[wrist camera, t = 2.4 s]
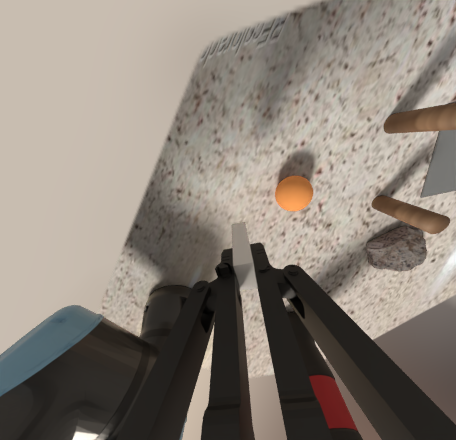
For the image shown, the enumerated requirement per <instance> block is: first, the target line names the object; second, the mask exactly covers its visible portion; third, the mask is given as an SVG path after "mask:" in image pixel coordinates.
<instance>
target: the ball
mask: <svg viewBox="0 0 456 440" xmlns="http://www.w3.org/2000/svg"><path fill="white" fill-rule="evenodd" d="M275 197H276V201H277V203H278V204H279V205H280V206H281V207H282V208H283V209H285V210H288V211H298V210H301V209H303V208H305V207H306V206H307V205H308V204H309V203H310V201H311V199H312V197H313V188H312V186H311V184H310V182H309V181H308V180H307V179H305V178H303V177H301V176H290V177H287V178H285V179H283V180H282V181H281V182H280V183H279V184H278V186H277V188H276V192H275Z"/></svg>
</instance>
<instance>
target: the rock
mask: <svg viewBox="0 0 456 440" xmlns="http://www.w3.org/2000/svg"><path fill="white" fill-rule="evenodd" d="M425 242H426V241H425V239H424V238H423V232H422V231H421V230H419V229H415V230H414V229H411V228H409V227H408V226H404V227H399V228H396V229H393V230H391V231H389V232H388V233H386V234H383V235H381V236H380V237H378V238H375V239H373V240H371V241H369V242H368V243H367V244H366V247H367V253H368V258H369V261H368V262H369V264H370V265H372V266H373V267H374V268H377V269H388V270H393V271H399V272H401V271H409V270H411V269H413V268H414V267H415V266H417V265H420V264H422V263H423V262H424V260H425V259H426V251H427V250H426V245H425V244H426V243H425Z"/></svg>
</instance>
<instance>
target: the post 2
mask: <svg viewBox="0 0 456 440" xmlns="http://www.w3.org/2000/svg"><path fill="white" fill-rule="evenodd" d="M372 207H373V208H374V209H376V210H378V211H381V212H383V213H385V214H387V215H390V216H392V217H394V218H396V219H399V220H401V221H403V222H405V223H408V224H410V225H412V226H414V227H417V228H419V229H421V230H423V231H426V232H428V233H430V234H436V233H439V232H441V231H443V230H444V229H445V228H447V226H448V225H449V223H450V219H449V217H447V216H444V215H441V214H438V213H435V212H432V211H429V210H426V209H423V208H420V207H417V206H414V205H411V204H408V203H405V202H402V201H399V200H396V199H393V198H390V197H387V196H384V195H381V196H378V197H376V198H375V199H374V200H373V202H372Z"/></svg>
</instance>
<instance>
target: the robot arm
mask: <svg viewBox="0 0 456 440" xmlns="http://www.w3.org/2000/svg"><path fill="white" fill-rule="evenodd" d="M232 247H233V248H231V249H226V250H223V252H222V254H221V263H220V264H218V265H217V266H216V268H215V270H216V273H217V276H218V278H217V279H216V280H214V281H212V282H210V283H208V282H207V281H199V282H197V283H196V284H195V285H194V286H193V288H192V289H191V288H188V287H184V286H166V287H162V288H160V289H158V290H156V291H154V292H153V293H152V294H151V295H150V297H149V299H148V301H147V303H146V305H145V308H144V315H143V322H142V329H141V335H140V337H138V336H136V335H134V334H132V333H131V332H129V331H127V330H125V329H123V328H122V327H120V326H118V325H116V324H115V323H113V322H111V321H109V320H108V319H106V318H104V316H103V315H101V314H96V313H94V312H92V311H90V310H88V309H86V308H84V307H81V306H78V305H72V306H67V307H64V308H62V309H60V310H59V311H57V312H55V313H54V314H53V315H51V316H50V317H48V318H47V319H46V320H44V321H43V322H42V323H40V324H39V325H38V326H36V327H35V328H34V329H32V330H31V331H30V332H29V333H27V334H26V335H25V336H23V337H22V338H21V339H20V340H18V341H17V342H16V343H15V344H13V345H12V346H11V347H10V348H8V349H7V350H6V351H5V352H3V353H2V354H1V355H0V440H182V437H183V432H184V426H185V423H186V421H187V412H188V409H189V405H190V402H191V399H192V395H193V392H194V389H195V385H196V382H197V379H198V375H199V372H200V369H201V365H202V362H203V359H204V355H205V352H206V349H207V345H208V342H209V339H210V335H211V332H212V329H213V325H214V338H213V351H212V365H211V378H210V392H209V403H208V407H207V409H206V410H205V413H204V416H203V423H202V434H201V440H255V438H254V432H253V426H252V417H251V404H250V393H249V381H248V369H247V358H246V346H245V334H244V323H243V311H242V300H241V295H240V291H246V290H252V289H258V292H259V297H260V302H261V307H262V312H263V317H264V322H265V327H266V332H267V337H268V343H269V348H270V353H271V358H272V363H273V368H274V373H275V378H276V383H277V388H278V393H279V398H280V404H281V410H282V415H283V420H284V425H285V430H286V435H287V440H333V439H332V436H331V433H330V430H329V427H328V424H327V422H326V419H325V416H324V413H323V410H322V408H321V405H320V403H319V401H318V399H317V397H316V395H315V393H314V390H313V387H312V385H311V382H310V379H309V376H308V373H307V370H306V367H305V364H304V361H303V358H302V355H301V352H300V349H299V346H298V343H297V340H296V337H295V334H294V331H293V329H292V326H291V323H290V320H289V317H288V314H287V311H286V308H285V305H284V302H283V299H282V298H287V300H288V302H289V303H290V305H291V306H292V307H293V309H294V310H295V312H296V313H297V315H298V316H299V318H300V319H301V321H302V322H303V324H304V325H305V327H306V328H307V330H308V331H309V333H310V334H311V336H312V337H313V338H314V340H315V341H316V343H317V344H318V346H319V347H320V349H321V350H322V352H323V353H324V355H325V356H326V358H327V359H328V361H329V362H330V364H331V365H332V367H333V368H334V369H335V371H336V372H337V374H338V375H339V377H340V378H341V380H342V381H343V383H344V384H345V386H346V387H347V389H348V390H349V392H350V393H351V395H352V396H353V397H354V399H355V400H356V402H357V403H358V405H359V406H360V408H361V409H362V411H363V412H364V414H365V415H366V417H367V418H368V420H369V421H370V423H371V424H372V426H373V427H374V428H375V430H376V432H377V433H378V434H379V436H380V437H381V439H382V440H456V425H455V424H454V423H453V422H452V421H451V420H450V419H449V418H448V417H447V416H446V415H445V414H444V412H443V411H442V410H440V408H439V407H438V406H436V405H435V403H434V402H433V401H432V400H431V399H430V398H429V397H428V396H427V395H426V394H425V393H424V392H423V391H422V390H421V389H420V388H419V387H418V386H417V385H416V384H415V383H414V382H413V381H412V380H411V379H410V378H409V377H408V376H407V375H406V374H405V373H404V372H403V371H402V370H401V369H400V368H399V367H398V366H397V365H396V364H395V363H394V362H393V361H392V360H391V359H390V358H389V357H388V356H387V355H386V354H385V353H384V352H383V351H382V349H381V348H380V347H378V346H377V344H376V343H375V342H374V341H373V340H372V339H371V338H370V337H369V336H368V335H367V334H366V333H365V332H364V331H363V330H362V329H361V328H360V327H359V326H358V325H357V324H356V323H355V322H354V321H353V320H352V319H351V318H350V317H349V316H348V315H347V314H346V313H345V312H344V311H343V310H342V309H341V308H340V307H339V306H338V305H337V304H336V303H335V302H334V301H333V300H332V299H331V298H330V297H329V296H328V295H327V294H326V293H325V292H324V291H323V290H322V289H321V288H320V286H319V285H318V284H317V283H316V282H315V281H314V280H313V279H312V278H311V277H310V276H309V275H308V274H307V273H306V272H305V271H304V270H303V269H302V268H301V267H299V266H297V265H288V266H286V267H285V268H284V269H276V268H273V267H272V266H271V265H270V263H269V261H268V258H267V255H266V252H265V249H264V246H263V245H262V244H261V243H255V244H250V243H249V238H248V234H247V229H246V224H245V222H242V223H237V224H233V225H232ZM214 322H215V324H214Z"/></svg>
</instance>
